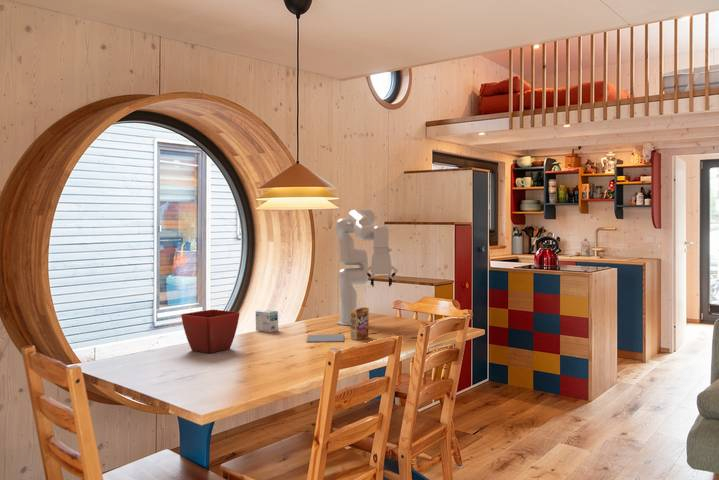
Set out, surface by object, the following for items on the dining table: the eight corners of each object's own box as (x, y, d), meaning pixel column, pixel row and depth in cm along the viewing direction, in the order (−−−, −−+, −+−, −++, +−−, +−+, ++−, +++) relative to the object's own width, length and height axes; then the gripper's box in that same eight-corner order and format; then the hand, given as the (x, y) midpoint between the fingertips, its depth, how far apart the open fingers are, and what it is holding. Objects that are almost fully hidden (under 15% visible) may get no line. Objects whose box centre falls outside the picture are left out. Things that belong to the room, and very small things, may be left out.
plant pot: (213, 343, 284) (212, 308, 283) (241, 348, 273) (240, 312, 272) (180, 351, 268) (180, 314, 268) (208, 356, 257) (208, 318, 257)
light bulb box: (278, 330, 316) (278, 310, 316) (270, 332, 310) (270, 312, 310) (263, 328, 322) (263, 309, 321) (255, 330, 316) (254, 310, 316)
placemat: (308, 335, 301) (308, 334, 301) (343, 335, 302) (343, 334, 302) (306, 342, 285) (306, 341, 285) (343, 341, 286) (343, 340, 286)
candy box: (356, 340, 289) (356, 309, 289) (350, 339, 292) (350, 308, 292) (369, 337, 295) (368, 307, 295) (363, 336, 298) (362, 306, 298)
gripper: (397, 250, 297) (398, 285, 297) (363, 250, 296) (363, 285, 297) (399, 251, 289) (399, 287, 290) (363, 251, 289) (364, 287, 289)
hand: (381, 286), depth 293 cm, fingers open, 7 cm apart
